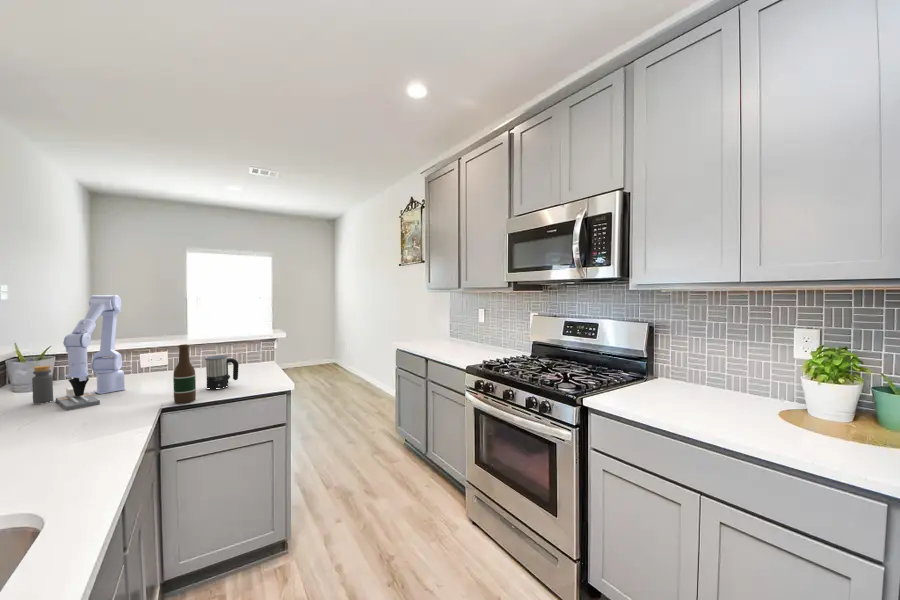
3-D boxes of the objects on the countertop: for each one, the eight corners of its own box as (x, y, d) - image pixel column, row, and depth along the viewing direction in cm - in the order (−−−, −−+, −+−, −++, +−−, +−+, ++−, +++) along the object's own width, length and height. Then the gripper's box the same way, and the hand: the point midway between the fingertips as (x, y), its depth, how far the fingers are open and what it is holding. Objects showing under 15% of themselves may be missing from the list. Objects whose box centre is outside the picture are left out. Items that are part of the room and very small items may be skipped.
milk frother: (211, 391, 181) (211, 359, 180) (194, 386, 189) (194, 356, 189) (242, 384, 193) (241, 355, 192) (224, 380, 201) (224, 351, 201)
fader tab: (80, 394, 168) (80, 385, 168) (83, 396, 166) (82, 387, 166) (66, 397, 165) (66, 388, 164) (68, 398, 162) (68, 389, 162)
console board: (87, 395, 172) (87, 390, 172) (99, 404, 161) (99, 398, 161) (55, 401, 164) (55, 396, 164) (66, 410, 153) (66, 404, 153)
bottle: (40, 404, 160) (38, 368, 159) (29, 403, 161) (27, 367, 161) (57, 400, 166) (55, 365, 165) (46, 399, 167) (45, 364, 166)
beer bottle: (200, 399, 168) (199, 344, 167) (182, 404, 161) (181, 346, 160) (187, 397, 171) (186, 342, 170) (169, 402, 164) (167, 345, 163)
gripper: (60, 362, 161) (61, 394, 162) (68, 366, 153) (70, 401, 153) (83, 359, 167) (84, 390, 168) (92, 363, 159) (94, 397, 159)
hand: (79, 395), depth 161 cm, fingers closed
